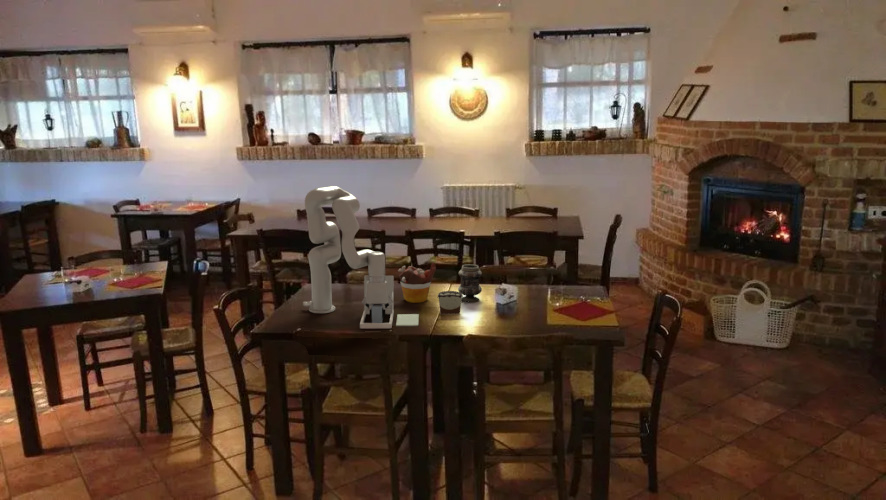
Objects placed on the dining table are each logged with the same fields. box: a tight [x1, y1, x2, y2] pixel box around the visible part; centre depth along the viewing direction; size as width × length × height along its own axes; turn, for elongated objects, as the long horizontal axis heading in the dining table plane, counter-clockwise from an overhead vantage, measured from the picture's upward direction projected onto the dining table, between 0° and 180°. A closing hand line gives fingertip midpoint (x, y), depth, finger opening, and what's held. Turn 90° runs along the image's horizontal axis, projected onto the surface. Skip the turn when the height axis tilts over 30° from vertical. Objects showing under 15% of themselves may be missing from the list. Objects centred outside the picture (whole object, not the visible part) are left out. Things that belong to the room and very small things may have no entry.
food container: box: [437, 290, 464, 315], centre depth 328 cm, size 12×6×10 cm, turn 92°
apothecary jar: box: [457, 264, 483, 304], centre depth 348 cm, size 12×12×18 cm
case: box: [359, 275, 395, 329], centre depth 316 cm, size 14×26×18 cm, turn 1°
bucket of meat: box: [397, 262, 437, 304], centre depth 347 cm, size 20×16×20 cm
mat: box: [395, 313, 420, 327], centre depth 316 cm, size 10×16×1 cm, turn 1°
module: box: [371, 304, 384, 323], centre depth 315 cm, size 4×9×8 cm, turn 1°
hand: (377, 316), depth 315 cm, fingers closed on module, 4 cm apart
